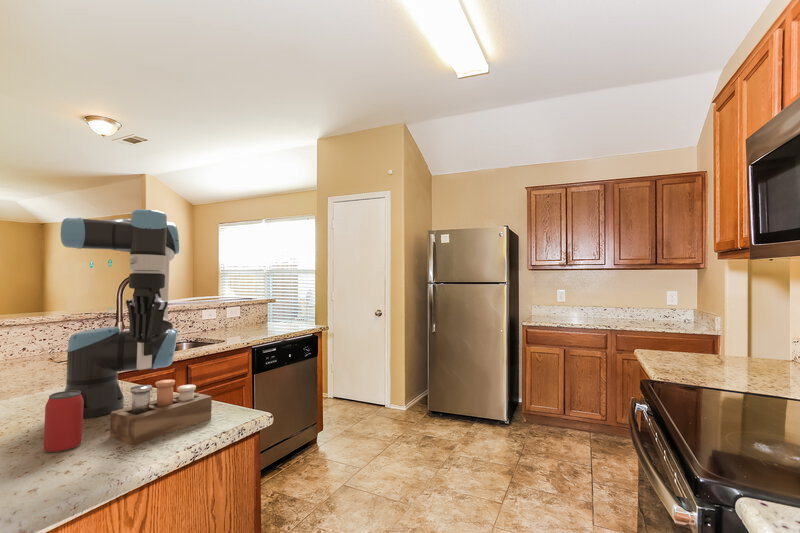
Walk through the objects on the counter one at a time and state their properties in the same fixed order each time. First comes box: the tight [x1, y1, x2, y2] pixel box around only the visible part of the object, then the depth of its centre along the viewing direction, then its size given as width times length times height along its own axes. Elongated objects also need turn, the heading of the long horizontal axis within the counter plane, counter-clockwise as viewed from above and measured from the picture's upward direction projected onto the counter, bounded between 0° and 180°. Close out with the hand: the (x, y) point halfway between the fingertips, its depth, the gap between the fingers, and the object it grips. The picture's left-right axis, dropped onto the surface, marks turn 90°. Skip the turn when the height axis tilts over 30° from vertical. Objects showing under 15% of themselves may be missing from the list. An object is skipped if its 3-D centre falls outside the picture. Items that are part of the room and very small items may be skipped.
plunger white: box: [177, 384, 197, 401], centre depth 106 cm, size 4×4×7 cm
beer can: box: [42, 390, 84, 453], centre depth 88 cm, size 7×7×12 cm
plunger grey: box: [129, 384, 153, 415], centre depth 95 cm, size 4×4×7 cm
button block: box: [109, 392, 213, 446], centre depth 101 cm, size 10×20×6 cm, turn 154°
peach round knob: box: [154, 379, 176, 408], centre depth 101 cm, size 4×4×7 cm
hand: (144, 368), depth 96 cm, fingers closed
